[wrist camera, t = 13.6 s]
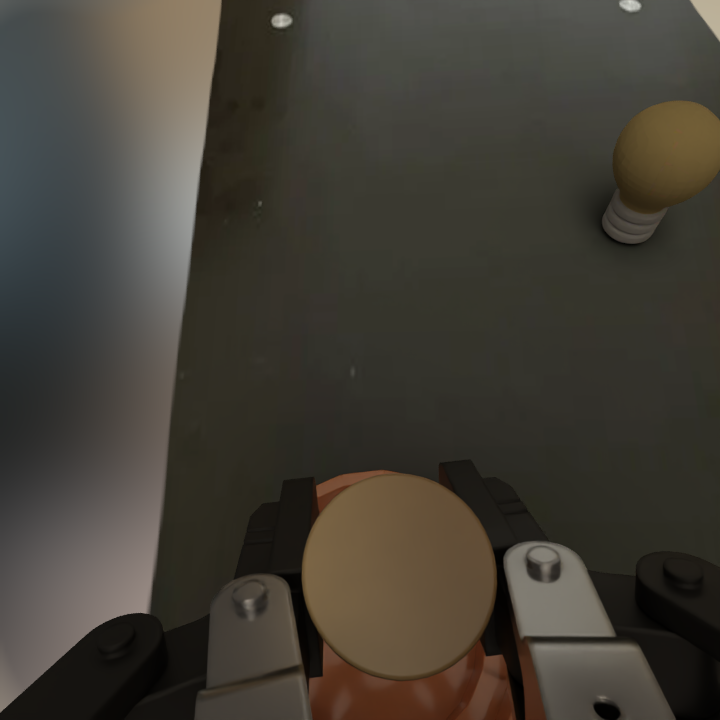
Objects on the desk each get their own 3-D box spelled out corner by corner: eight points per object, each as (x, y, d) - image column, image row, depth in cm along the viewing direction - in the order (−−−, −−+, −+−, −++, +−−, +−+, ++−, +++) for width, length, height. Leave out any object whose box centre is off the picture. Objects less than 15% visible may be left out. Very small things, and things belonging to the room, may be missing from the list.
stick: (347, 683, 18) (307, 693, 7) (339, 586, 19) (296, 482, 9) (437, 671, 18) (520, 667, 7) (422, 576, 19) (474, 462, 9)
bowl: (250, 814, 24) (219, 848, 19) (248, 516, 31) (226, 487, 26) (541, 774, 24) (582, 799, 20) (477, 489, 31) (496, 456, 26)
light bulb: (601, 269, 39) (666, 153, 30) (568, 207, 42) (618, 87, 34) (683, 255, 39) (770, 138, 31) (644, 195, 43) (713, 73, 34)
